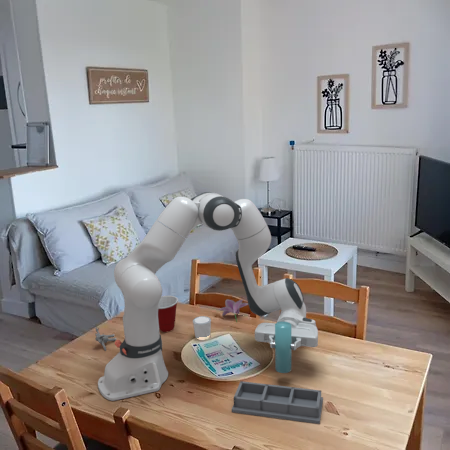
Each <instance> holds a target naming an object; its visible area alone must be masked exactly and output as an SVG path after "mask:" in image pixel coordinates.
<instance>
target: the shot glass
mask: <svg viewBox="0 0 450 450" xmlns="http://www.w3.org/2000/svg"><path fill="white" fill-rule="evenodd" d="M211 322H212V320H211V317H208V316H206V315H205V316H204V315H203V316H202V315H201V316H196V317H195V318H193V319H192V325H193V330H194V331H193V332H194V335H195V339H196V338H199V337H207V336H209V335H210V336H211V329H212V328H211V325H212V323H211Z"/></svg>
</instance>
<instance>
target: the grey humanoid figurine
mask: <svg viewBox="0 0 450 450" xmlns="http://www.w3.org/2000/svg"><path fill="white" fill-rule="evenodd" d="M99 329H100V328H98V327H95V332H96V333H95V336H96V337H95V339H94V340H95V341H96V342H98V343H99V344H101V346H102V348H103V350H104V352H106V351H107V347H108V346H106V345H105V344H106V343H108V342H116V340H117V337H115V333H112V334H105V333H102V334H100V331H99Z"/></svg>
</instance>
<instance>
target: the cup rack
mask: <svg viewBox="0 0 450 450" xmlns="http://www.w3.org/2000/svg"><path fill="white" fill-rule="evenodd" d="M323 402H324V397H323V396H322V390H319V389H310V388H302V387H293V386H284V385H276V384H268V383H262V382H261V383H259V382H253V381H252V382H250V381H243V380H240V381H239V384H238V386H237V389H236V391H235V393H234V396H233V405H232V406H231V413H235V414H241V415H242V414H243V415H250V416H257V417H265V418H271V419H279V420H287V421H293V422H301V423H310V424H317V425H320V424H321V417H322V412H323V411H322V409H323Z"/></svg>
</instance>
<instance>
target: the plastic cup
mask: <svg viewBox="0 0 450 450" xmlns="http://www.w3.org/2000/svg"><path fill="white" fill-rule="evenodd" d="M178 301H179V298H178V296H177V297H176V296H175V295H162V296H161V299H160V301H159V308H158V321H159V332H163V333H168V332H169V333H170V332H172V331H174V329H175V324H176V318H177V317H176V313H177V306H178Z"/></svg>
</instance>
